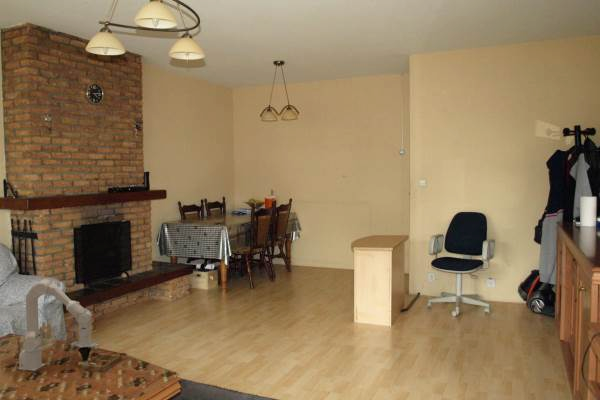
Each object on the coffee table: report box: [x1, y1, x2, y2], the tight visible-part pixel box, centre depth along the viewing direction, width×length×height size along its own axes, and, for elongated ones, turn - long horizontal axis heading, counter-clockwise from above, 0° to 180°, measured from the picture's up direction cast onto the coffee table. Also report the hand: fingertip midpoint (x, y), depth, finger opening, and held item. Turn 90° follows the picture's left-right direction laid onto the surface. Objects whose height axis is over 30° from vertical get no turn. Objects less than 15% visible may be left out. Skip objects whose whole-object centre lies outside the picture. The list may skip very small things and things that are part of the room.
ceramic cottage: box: [19, 321, 57, 352], centre depth 263 cm, size 16×16×15 cm
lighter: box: [77, 360, 98, 367], centre depth 236 cm, size 7×2×8 cm
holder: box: [78, 352, 123, 373], centre depth 238 cm, size 14×15×2 cm
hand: (85, 361), depth 240 cm, fingers closed
